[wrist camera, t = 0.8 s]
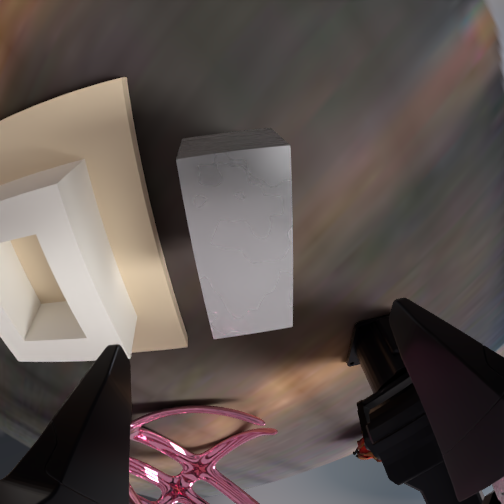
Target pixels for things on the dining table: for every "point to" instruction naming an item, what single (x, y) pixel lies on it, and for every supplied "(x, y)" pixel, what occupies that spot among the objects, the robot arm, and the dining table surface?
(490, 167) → the dining table surface
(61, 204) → the cream square frame
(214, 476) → the pink openwork sphere
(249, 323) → the grey wooden block
